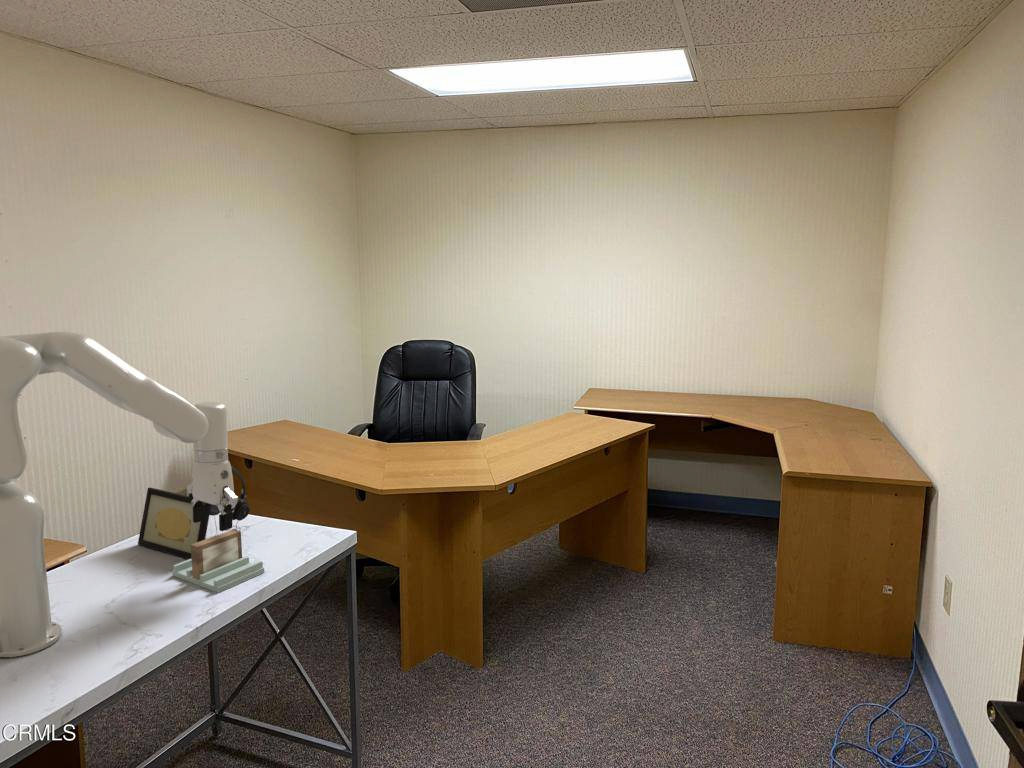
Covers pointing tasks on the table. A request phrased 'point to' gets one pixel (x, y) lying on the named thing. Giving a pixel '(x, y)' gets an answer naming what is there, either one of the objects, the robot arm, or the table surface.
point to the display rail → (220, 574)
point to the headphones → (241, 505)
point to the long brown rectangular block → (215, 552)
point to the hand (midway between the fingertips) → (212, 525)
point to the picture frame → (171, 523)
